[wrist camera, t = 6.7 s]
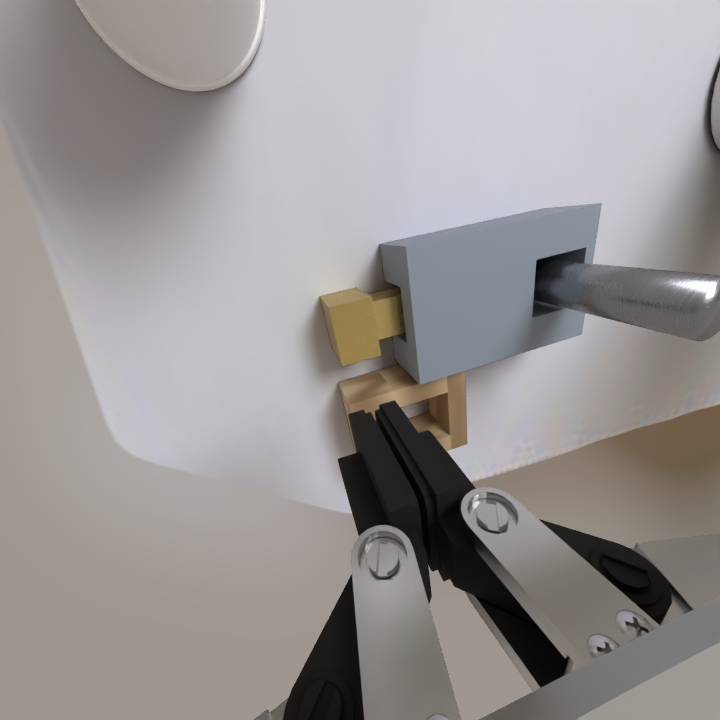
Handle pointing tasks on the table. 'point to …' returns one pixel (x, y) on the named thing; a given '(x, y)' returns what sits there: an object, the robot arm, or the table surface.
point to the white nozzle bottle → (181, 37)
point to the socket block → (484, 289)
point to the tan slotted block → (413, 401)
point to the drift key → (362, 322)
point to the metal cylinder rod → (634, 296)
